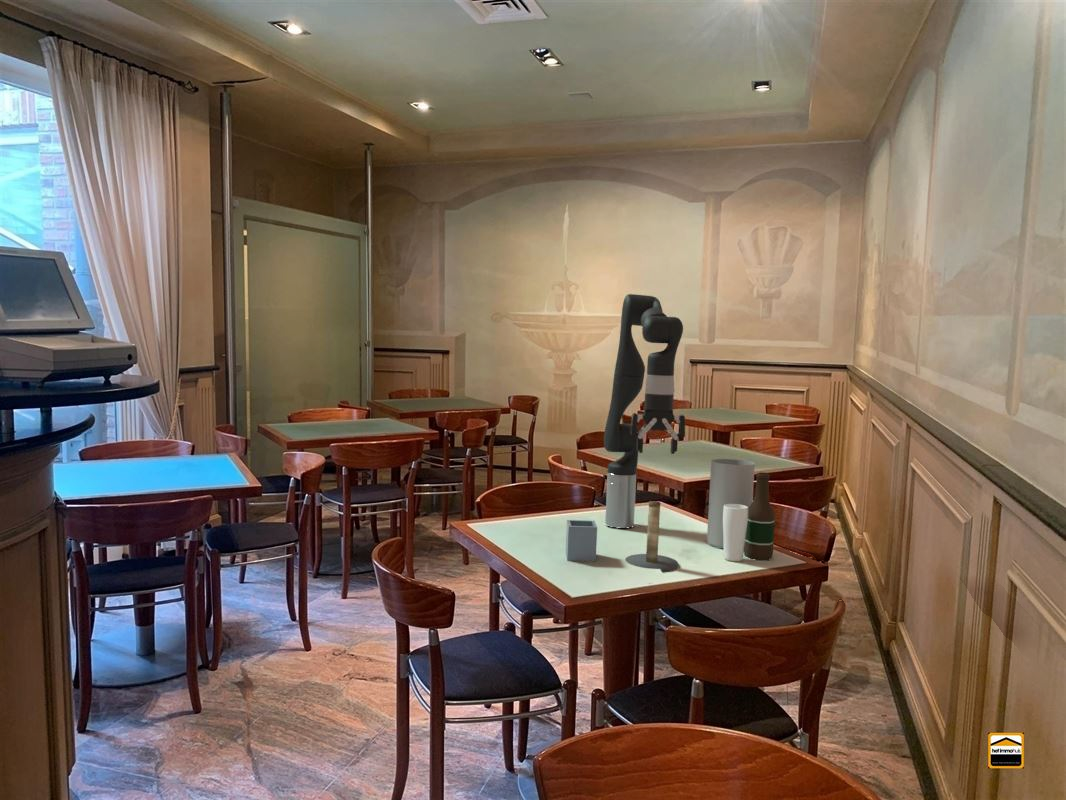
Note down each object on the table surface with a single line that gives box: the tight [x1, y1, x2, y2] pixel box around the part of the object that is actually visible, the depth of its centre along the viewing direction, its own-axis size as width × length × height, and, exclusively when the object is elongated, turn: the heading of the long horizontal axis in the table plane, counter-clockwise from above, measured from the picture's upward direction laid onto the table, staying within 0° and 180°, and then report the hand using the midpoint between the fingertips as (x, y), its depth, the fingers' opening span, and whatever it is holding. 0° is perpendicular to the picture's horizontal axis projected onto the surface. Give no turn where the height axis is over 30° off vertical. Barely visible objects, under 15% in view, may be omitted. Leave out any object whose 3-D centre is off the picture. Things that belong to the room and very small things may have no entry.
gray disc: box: [625, 553, 679, 572], centre depth 209 cm, size 14×14×1 cm
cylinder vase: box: [706, 458, 755, 550], centre depth 232 cm, size 12×12×25 cm
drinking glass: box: [723, 504, 748, 562], centre depth 216 cm, size 7×7×15 cm
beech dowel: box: [645, 500, 661, 563], centre depth 209 cm, size 3×3×16 cm
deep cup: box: [565, 519, 598, 562], centre depth 210 cm, size 8×8×10 cm
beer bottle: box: [743, 472, 776, 561], centre depth 219 cm, size 8×8×24 cm
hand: (656, 453), depth 207 cm, fingers open, 8 cm apart
